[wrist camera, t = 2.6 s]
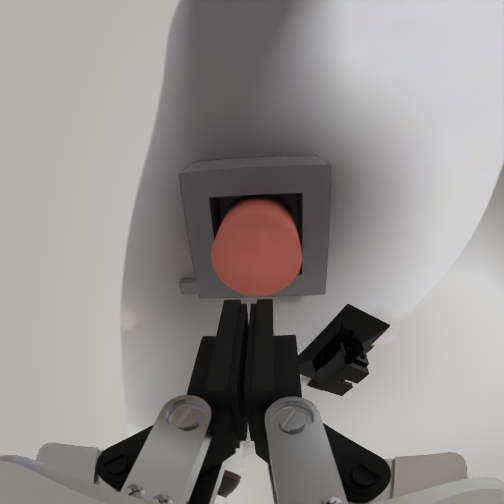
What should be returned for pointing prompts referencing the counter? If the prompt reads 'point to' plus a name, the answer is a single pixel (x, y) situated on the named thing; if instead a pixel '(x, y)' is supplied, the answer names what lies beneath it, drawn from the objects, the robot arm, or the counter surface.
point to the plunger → (257, 246)
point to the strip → (188, 286)
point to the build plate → (341, 351)
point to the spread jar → (231, 475)
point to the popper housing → (255, 183)
